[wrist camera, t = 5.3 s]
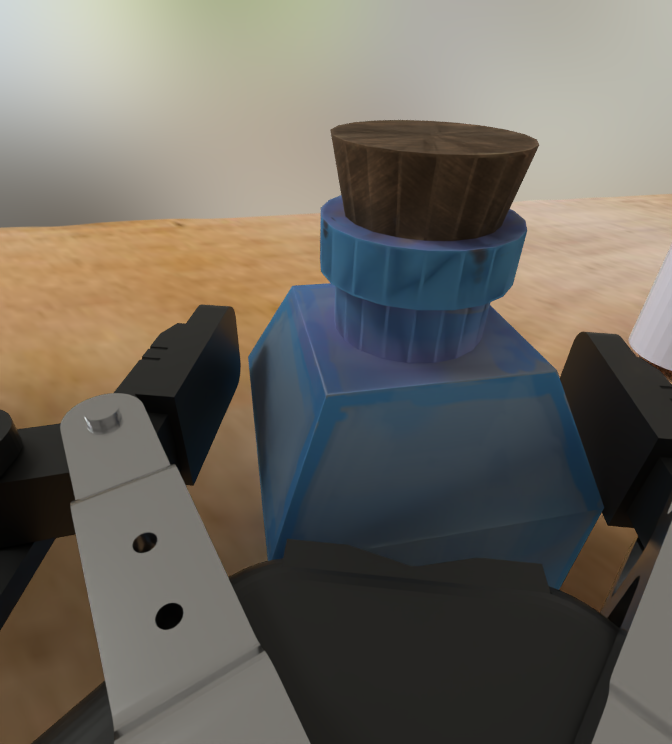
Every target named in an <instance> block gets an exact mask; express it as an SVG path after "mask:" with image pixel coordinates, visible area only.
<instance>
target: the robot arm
mask: <svg viewBox="0 0 672 744" xmlns="http://www.w3.org/2000/svg"><path fill="white" fill-rule="evenodd" d="M240 367H241V365H240V353H239V344H238V334H237V325H236V316H235V312H234V309H233V308H232V307H229V306H215V305H199V306H198V308H197V309H196V310H195V312H194V313H193V315H192V316H191V317H190V319H189V320H188V321H187V323H186V324H182V323H177V324H175V325H174V326H172V327H171V328H169V329H167V330H166V331H164V332H162V333H161V334H160V335H159V336H158V337H157V339H156V340H155V341H154V342H153V344H152V345H151V346H150V349H148V350H147V351H146V353H145V354H144V355H143V356H142V360H139V361H138V363H137V364H136V365H135V366H134V368H133V369H132V370H131V372H130V373H129V374H128V375H127V377H126V378H125V379H124V380H123V382H122V383H121V384H120V386H119V387H118V388H117V389H116V391H115V392H114V393H111V394H104V395H99V396H96V397H93V398H90V399H87V400H85V401H83V402H81V403H79V404H77V405H76V406H75V407H73V408H72V409H71V410H70V411H69V412H67V414H66V415H65V416H64V417H63V419H62V421H61V423H60V424H54V425H46V426H39V427H32V428H24V429H16V427H15V425H14V423H13V421H12V419H11V417H10V415H9V414H8V413H6V412H5V411H3V410H0V630H1V628H2V627H3V625H4V623H5V622H6V620H7V618H8V617H9V615H10V613H11V612H12V610H13V608H14V607H15V605H16V603H17V602H18V600H19V598H20V597H21V595H22V593H23V592H24V590H25V588H26V587H27V585H28V583H29V582H30V580H31V578H32V577H33V575H34V573H35V572H36V570H37V568H38V567H39V565H40V563H41V562H42V560H43V559H44V557H45V555H46V554H47V552H48V550H49V549H50V547H51V545H52V544H53V542H54V540H55V539H56V538H58V537H64V536H69V535H74V534H76V538H77V543H78V548H79V553H80V558H81V563H82V568H83V573H84V578H85V583H86V588H87V593H88V598H89V603H90V608H91V613H92V618H93V623H94V628H95V633H96V638H97V642H98V647H99V652H100V657H101V662H102V667H103V672H104V677H105V681H104V682H103V683H101V684H100V685H99V686H98V687H97V688H96V689H94V690H93V691H92V692H91V693H90V694H89V695H87V696H86V697H85V698H84V699H83V700H82V701H80V702H79V703H78V704H77V705H76V706H75V707H73V708H72V709H71V710H70V711H69V712H68V713H66V714H65V715H64V716H63V717H62V718H61V719H59V720H58V721H57V722H56V723H55V724H54V725H52V726H51V727H50V728H49V729H48V730H47V731H45V732H44V733H43V734H42V735H41V736H40V737H38V738H37V739H36V740H35V741H34V742H33V743H31V744H672V385H671V383H670V382H669V381H668V380H667V379H666V377H665V376H664V375H663V374H662V373H661V371H659V370H658V369H656V368H655V367H653V366H652V365H650V364H649V363H647V362H646V361H645V360H643V359H642V358H640V357H636V356H635V354H634V353H633V352H632V351H631V349H630V348H629V347H628V345H627V344H626V343H625V342H624V340H623V339H622V338H621V337H620V336H619V335H617V334H607V333H592V332H581V333H579V334H578V335H577V336H576V338H575V340H574V342H573V345H572V347H571V350H570V353H569V355H568V358H567V361H566V363H565V366H564V369H563V371H562V374H561V377H560V381H561V384H562V387H563V389H564V392H565V395H566V398H567V401H568V404H569V407H570V410H571V413H572V416H573V418H574V421H575V424H576V427H577V430H578V433H579V436H580V439H581V442H582V445H583V447H584V450H585V453H586V456H587V459H588V462H589V465H590V468H591V471H592V474H593V476H594V479H595V482H596V485H597V488H598V491H599V494H600V497H601V500H602V503H603V505H604V509H603V511H602V514H603V516H604V518H605V520H606V522H607V525H608V526H618V527H629V528H634V529H635V531H636V533H637V537H636V539H635V540H634V542H633V543H632V545H631V546H630V548H629V551H628V553H627V555H626V557H625V559H624V562H623V564H622V566H621V568H620V570H619V573H618V575H617V577H616V579H615V581H614V584H613V586H612V588H611V590H610V592H609V595H608V597H607V599H606V601H605V603H604V605H603V608H602V610H601V612H600V613H599V612H598V611H596V610H595V609H593V608H592V607H590V606H589V605H587V604H586V603H584V602H582V601H580V600H578V599H577V598H575V597H573V596H571V595H569V594H567V593H564V592H562V591H560V590H558V589H556V588H553V587H550V586H548V583H547V579H546V576H545V573H544V569H543V566H542V564H539V563H529V562H518V561H508V560H498V559H488V558H471V559H464V560H457V561H450V562H443V563H436V564H429V565H422V566H410V565H406V564H403V563H400V562H398V561H395V560H392V559H389V558H386V557H383V556H380V555H377V554H374V553H371V552H368V551H365V550H362V549H359V548H356V547H353V546H350V545H346V544H336V543H325V542H315V541H305V540H295V539H287V541H286V546H285V551H284V556H283V558H281V559H274V560H270V561H266V562H262V563H258V564H256V565H253V566H251V567H248V568H246V569H243V570H241V571H239V572H238V573H236V574H234V575H232V576H230V577H228V576H227V574H226V572H225V570H224V567H223V565H222V563H221V561H220V559H219V557H218V555H217V552H216V550H215V548H214V546H213V544H212V542H211V539H210V537H209V535H208V533H207V531H206V529H205V526H204V524H203V522H202V520H201V518H200V516H199V513H198V511H197V509H196V507H195V505H194V503H193V500H192V498H191V496H190V494H189V492H188V490H187V488H186V485H194V483H195V481H196V479H197V476H198V474H199V472H200V470H201V467H202V465H203V463H204V461H205V458H206V456H207V454H208V452H209V449H210V447H211V445H212V443H213V440H214V438H215V436H216V433H217V431H218V429H219V427H220V424H221V422H222V420H223V418H224V415H225V413H226V411H227V409H228V406H229V404H230V402H231V400H232V397H233V395H234V393H235V391H236V388H237V386H238V383H239V378H240Z"/></svg>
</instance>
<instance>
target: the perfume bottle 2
mask: <svg viewBox="0 0 672 744" xmlns="http://www.w3.org/2000/svg"><path fill="white" fill-rule="evenodd" d="M629 343H630V345H631V347H632V348H633V349H634V350H635V351H636V352H637V353H638V354H639V355H640V356H642V357H643V358H645V359H647V360H648V361H650V362H652V363H654V364H656V365H658V366H660V367H663V368H665V369H668V370H671V371H672V243H671V246H670V248H669V250H668V252H667V254H666V257H665V259H664V261H663V263H662V266H661V268H660V270H659V272H658V274H657V277H656V279H655V281H654V283H653V285H652V288H651V290H650V292H649V294H648V296H647V299H646V301H645V303H644V305H643V308H642V310H641V312H640V314H639V316H638V319H637V321H636V323H635V325H634V327H633V330H632V332H631V334H630V336H629Z"/></svg>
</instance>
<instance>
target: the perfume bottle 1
mask: <svg viewBox="0 0 672 744" xmlns="http://www.w3.org/2000/svg"><path fill="white" fill-rule="evenodd" d="M331 136H332V141H333V147H334V154H335V159H336V165H337V171H338V177H339V183H340V189H341V196H338V197H336V198H333V199H331V200H329V201H328V202H327V203H326V204H325V205H323V206H322V207H321V240H320V263H321V272H322V273H323V275H324V276H325V277H326V278H327V279H328V280H329V281H330V284H314V285H298V286H292V287H291V289H290V291H289V292H288V294H287V295H286V297H285V299H284V300H283V302H282V303H281V305H280V307H279V308H278V310H277V311H276V313H275V315H274V316H273V318H272V320H271V321H270V323H269V324H268V326H267V328H266V329H265V331H264V332H263V334H262V336H261V337H260V339H259V340H258V342H257V344H256V345H255V347H254V348H253V350H252V352H251V353H250V355H249V356H248V360H249V370H250V381H251V391H252V402H253V412H254V422H255V433H256V443H257V454H258V464H259V475H260V485H261V496H262V506H263V516H264V526H265V536H266V546H267V556H268V561H270V560H274V559H281V558H283V556H284V551H285V546H286V541H287V539H295V540H305V541H315V542H325V543H336V544H346V545H350V546H353V547H356V548H359V549H362V550H365V551H368V552H371V553H374V554H377V555H380V556H383V557H386V558H389V559H392V560H395V561H398V562H400V563H403V564H406V565H410V566H422V565H429V564H436V563H443V562H450V561H457V560H464V559H471V558H488V559H498V560H508V561H518V562H529V563H539V564H542V566H543V569H544V573H545V576H546V579H547V583H548V586H550V587H553V588H556V589H558V590H559V589H560V587H561V585H562V583H563V582H564V580H565V578H566V576H567V574H568V572H569V571H570V569H571V567H572V565H573V563H574V562H575V560H576V558H577V556H578V554H579V553H580V551H581V549H582V547H583V545H584V543H585V542H586V540H587V538H588V536H589V534H590V533H591V531H592V529H593V527H594V525H595V524H596V522H597V520H598V518H599V516H600V514H601V513H602V511H603V509H604V505H603V503H602V500H601V497H600V494H599V491H598V488H597V485H596V482H595V479H594V476H593V474H592V471H591V468H590V465H589V462H588V459H587V456H586V453H585V450H584V447H583V445H582V442H581V439H580V436H579V433H578V430H577V427H576V424H575V421H574V418H573V416H572V413H571V410H570V407H569V404H568V401H567V398H566V395H565V392H564V389H563V387H562V384H561V381H560V378H559V375H558V372H557V370H556V369H555V368H554V367H553V366H552V365H551V364H550V363H549V362H548V361H547V360H546V359H545V358H544V357H543V356H542V355H541V354H540V353H539V352H538V351H537V350H536V349H534V348H533V347H532V346H531V345H530V344H529V343H528V342H527V341H526V340H525V339H524V338H523V337H522V336H521V335H520V334H519V333H518V332H517V331H516V330H515V329H514V328H513V327H512V326H511V325H510V324H509V323H508V322H507V321H506V320H505V319H504V318H503V317H502V316H501V315H500V314H499V313H497V312H496V311H495V310H494V309H493V308H492V307H491V306H490V302H492V301H494V300H496V299H498V298H501V297H503V296H504V295H505V294H506V292H507V291H508V290H509V289H510V288H511V286H512V285H513V282H514V278H515V274H516V271H517V267H518V263H519V259H520V256H521V252H522V248H523V244H524V241H525V237H526V233H527V227H526V222H525V220H524V219H523V218H522V217H521V216H519V215H518V214H517V213H516V212H515V211H513V210H511V209H510V207H511V204H512V202H513V200H514V198H515V196H516V194H517V192H518V189H519V187H520V185H521V183H522V181H523V179H524V177H525V174H526V172H527V170H528V168H529V166H530V163H531V162H532V159H533V157H534V155H535V153H536V151H537V148H538V146H539V143H538V141H537V140H536V139H534V138H532V137H530V136H527V135H525V134H521V133H517V132H513V131H509V130H504V129H498V128H493V127H487V126H480V125H471V124H461V123H451V122H436V121H414V120H385V121H384V120H383V121H366V122H354V123H349V124H344V125H338V126H337V127H335V128H333V129H331Z"/></svg>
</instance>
